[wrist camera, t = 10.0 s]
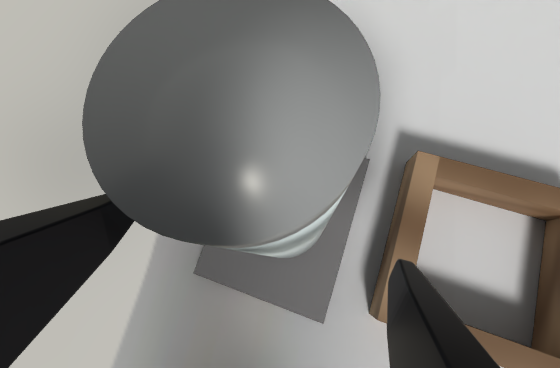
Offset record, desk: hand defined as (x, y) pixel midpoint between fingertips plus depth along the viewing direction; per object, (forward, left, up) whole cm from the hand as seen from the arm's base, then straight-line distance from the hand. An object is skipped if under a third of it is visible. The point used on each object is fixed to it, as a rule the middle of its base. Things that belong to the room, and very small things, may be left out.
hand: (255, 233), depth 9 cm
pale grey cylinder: (+2, 0, -8) cm, 8 cm away
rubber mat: (+2, 0, -8) cm, 9 cm away
